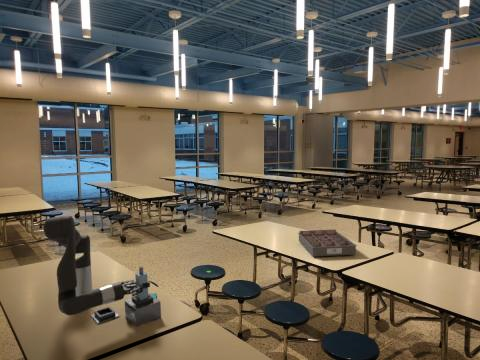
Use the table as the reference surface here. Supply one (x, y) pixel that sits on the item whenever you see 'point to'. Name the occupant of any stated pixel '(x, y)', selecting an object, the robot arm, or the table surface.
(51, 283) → the table surface
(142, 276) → the plug
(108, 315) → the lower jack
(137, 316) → the box with square opening
